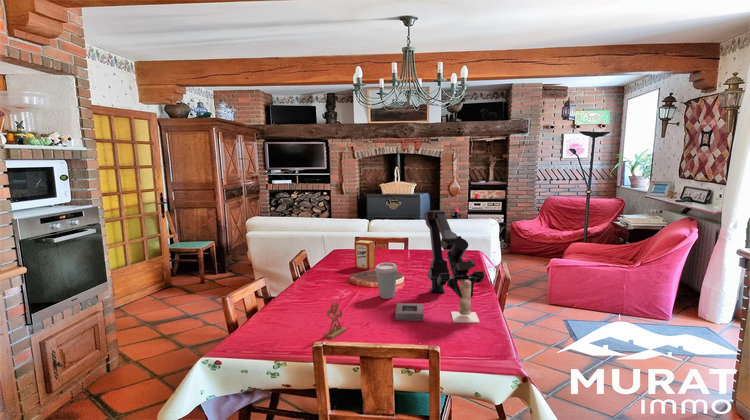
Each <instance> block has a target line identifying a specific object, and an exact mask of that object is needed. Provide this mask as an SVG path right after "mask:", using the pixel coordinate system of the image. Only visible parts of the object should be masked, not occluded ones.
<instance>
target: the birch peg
mask: <svg viewBox="0 0 750 420" xmlns="http://www.w3.org/2000/svg"><path fill="white" fill-rule="evenodd" d="M459 289H460V292H461V296H462V297H461V298H460V297H459V296H458V297H459V306H458V308H459V310H458V312H459V313H460V314H461V315H470V314H471V312H472V311H471V309H472V308H471V307H472V302H471V300H472V297H471V281H469V280H459Z"/></svg>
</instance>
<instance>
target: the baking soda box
mask: <svg viewBox="0 0 750 420" xmlns="http://www.w3.org/2000/svg"><path fill="white" fill-rule="evenodd" d="M375 258H376V257H375V241H374V240H373V241H372V240H364V239H363V240H362V239H359V240H357V241H354V268H355V269H359V270H365V271H370V270H373V269H375V267H376V265H375V264H376V263H375Z"/></svg>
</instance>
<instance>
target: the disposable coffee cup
mask: <svg viewBox="0 0 750 420" xmlns="http://www.w3.org/2000/svg"><path fill="white" fill-rule="evenodd" d="M374 272H375V274H376V280H377V281H376V282H377V285H378V287H377V288H378V293H379V296H380V299H381V298H382V299H392V298H394V297H395V293H396V292H395V291H396V284H397V274H398V266H397V264H396V263H393V262H382V263H378V264H377V265H375V268H374Z"/></svg>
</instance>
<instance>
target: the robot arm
mask: <svg viewBox="0 0 750 420" xmlns="http://www.w3.org/2000/svg"><path fill="white" fill-rule="evenodd" d="M423 218H424V219H423V220H424V221H425V225H426V226H427V228H428V229H429V233H430V234H429V235H430V243H431V255H432V260H431V262H430V264H429V265H430V266H429V269H428V271H427V279H429V280H430V281H431V287H430V289H429V290H430V293H431V294H445V293H446V292H445V288H444V286H446V287H449V288H450V289H451V290H452V291H453V292H454V293H455V294H456V295H457V297H460V298H461V297H462V296H461V292H460V285H459V283H458V281H461V280H469V281H471V298H473V297H474V285H475V284H478V283H482V281H483V280H484V279H485V277H486V274H485V272H484V271H483V270H474V271H473V272H472V273H471V274H469V272H470V270H472V269H473V268H475V267H476V265H475V260H474V259H471V258H470V259H468V260H467V261H465V260H463V256H464V255H465V253H466V251H467V249H468V248H469V242H468V241H467V240H466V239H464V238H462V236H461V235H457V234H456V233H455V232H453V231H452V228H451V227H450V224H449V222H448V220H447V217H446V213H445V211H443V210H437V209H436V210H426V212H424V214H423ZM443 251H447V253H446V259H444V257H443ZM447 260H448V262H447ZM448 264H449V267H448ZM450 271H451V273H452V274H450Z"/></svg>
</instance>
